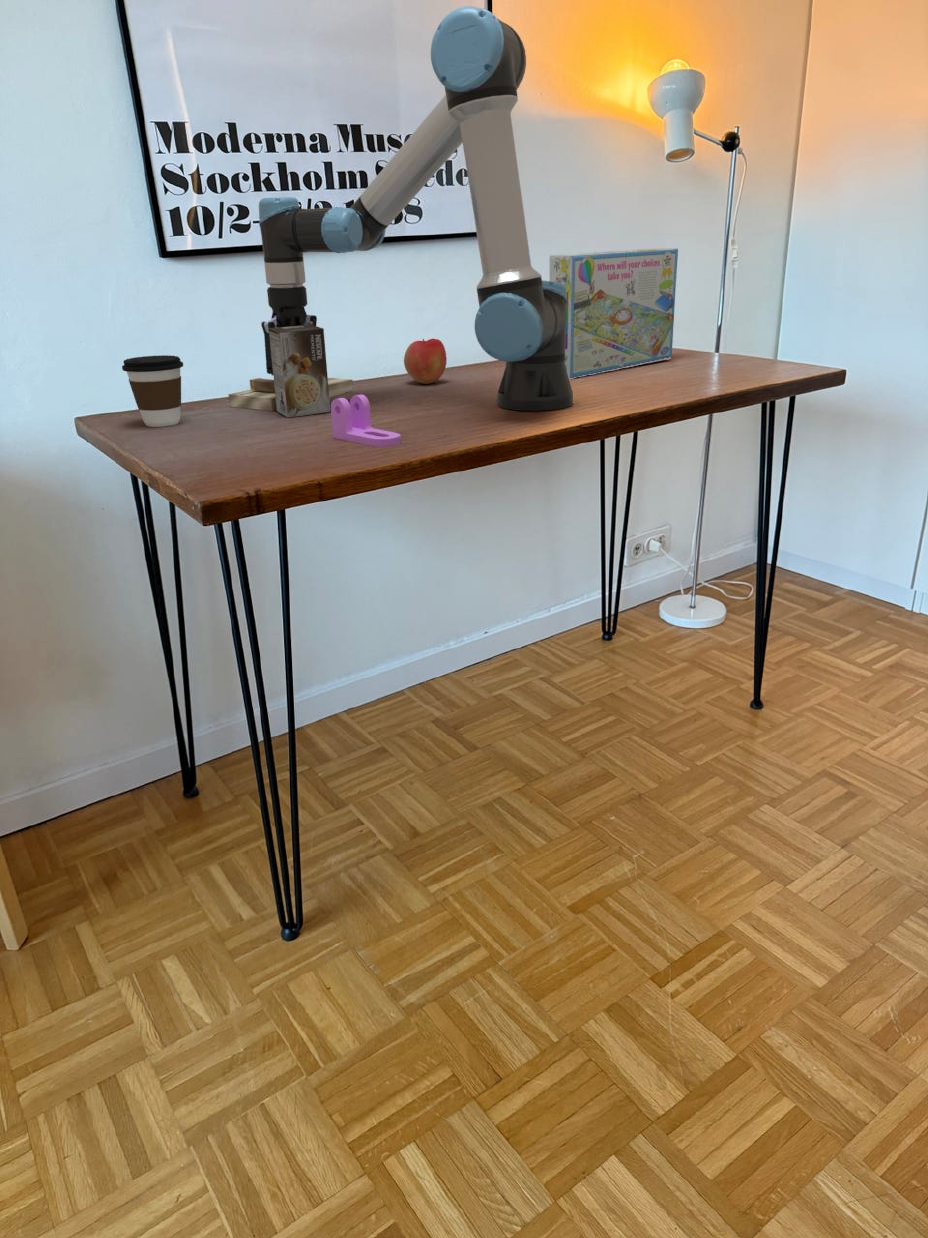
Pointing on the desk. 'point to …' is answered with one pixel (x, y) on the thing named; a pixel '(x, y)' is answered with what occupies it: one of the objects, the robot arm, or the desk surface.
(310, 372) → the coffee box
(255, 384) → the chocolate brown block
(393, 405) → the desk surface
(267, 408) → the plank
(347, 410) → the bracket
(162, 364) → the coffee cup
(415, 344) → the apple
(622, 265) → the game box
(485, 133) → the robot arm
